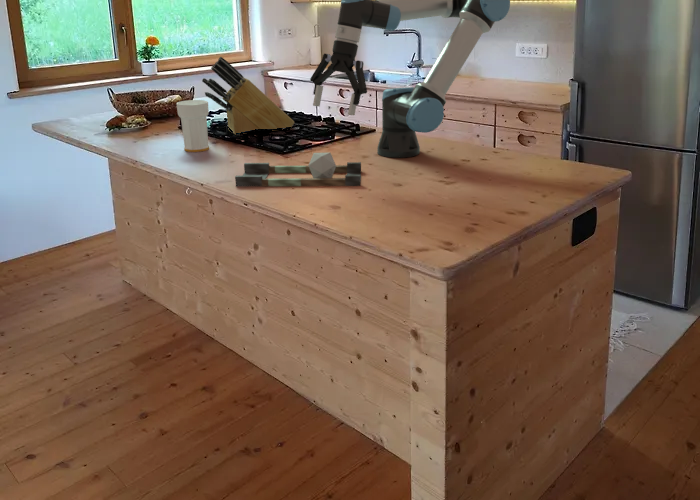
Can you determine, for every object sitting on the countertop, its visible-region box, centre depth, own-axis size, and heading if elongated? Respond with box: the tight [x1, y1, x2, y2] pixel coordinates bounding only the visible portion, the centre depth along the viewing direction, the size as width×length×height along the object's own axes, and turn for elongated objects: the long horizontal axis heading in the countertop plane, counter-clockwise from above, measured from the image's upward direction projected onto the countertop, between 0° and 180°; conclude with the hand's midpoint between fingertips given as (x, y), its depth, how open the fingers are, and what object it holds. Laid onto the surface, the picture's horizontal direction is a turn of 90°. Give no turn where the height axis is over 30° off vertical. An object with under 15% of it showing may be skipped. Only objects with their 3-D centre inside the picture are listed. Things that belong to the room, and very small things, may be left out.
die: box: [307, 152, 336, 178], centre depth 218 cm, size 8×9×10 cm
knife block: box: [201, 56, 295, 135], centre depth 283 cm, size 11×35×31 cm, turn 113°
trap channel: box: [234, 161, 362, 187], centre depth 219 cm, size 38×17×3 cm, turn 88°
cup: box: [176, 99, 210, 153], centre depth 256 cm, size 11×11×17 cm
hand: (333, 110), depth 219 cm, fingers open, 13 cm apart
